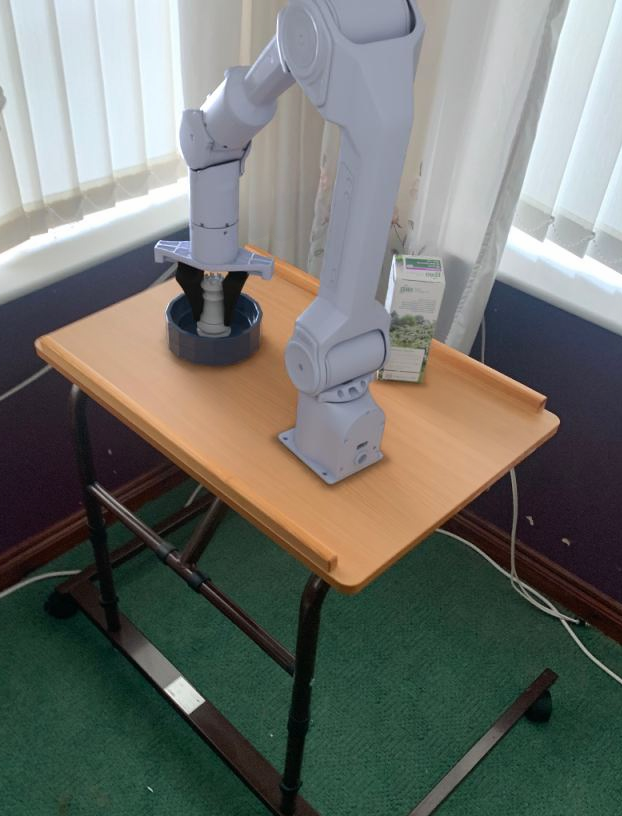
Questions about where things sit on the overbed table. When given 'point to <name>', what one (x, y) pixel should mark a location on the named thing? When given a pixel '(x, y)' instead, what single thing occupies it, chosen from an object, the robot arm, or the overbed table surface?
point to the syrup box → (412, 315)
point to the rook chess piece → (213, 308)
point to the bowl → (211, 349)
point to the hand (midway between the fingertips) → (214, 319)
